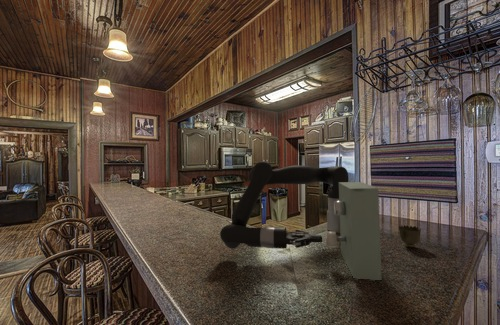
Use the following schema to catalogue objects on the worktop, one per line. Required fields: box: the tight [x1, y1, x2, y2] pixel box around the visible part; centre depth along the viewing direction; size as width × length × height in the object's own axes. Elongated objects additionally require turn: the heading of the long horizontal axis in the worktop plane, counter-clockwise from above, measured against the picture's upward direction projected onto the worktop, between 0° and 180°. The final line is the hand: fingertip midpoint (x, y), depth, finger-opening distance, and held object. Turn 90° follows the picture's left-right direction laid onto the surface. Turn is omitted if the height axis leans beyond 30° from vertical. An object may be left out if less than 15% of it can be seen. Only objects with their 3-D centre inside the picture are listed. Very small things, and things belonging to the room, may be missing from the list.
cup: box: [398, 225, 422, 249], centre depth 95 cm, size 8×7×8 cm
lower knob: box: [325, 230, 346, 247], centre depth 82 cm, size 7×5×5 cm
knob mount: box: [339, 181, 382, 281], centre depth 80 cm, size 8×20×28 cm, turn 168°
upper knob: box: [334, 201, 345, 215], centre depth 81 cm, size 7×5×5 cm
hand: (321, 238), depth 83 cm, fingers closed
